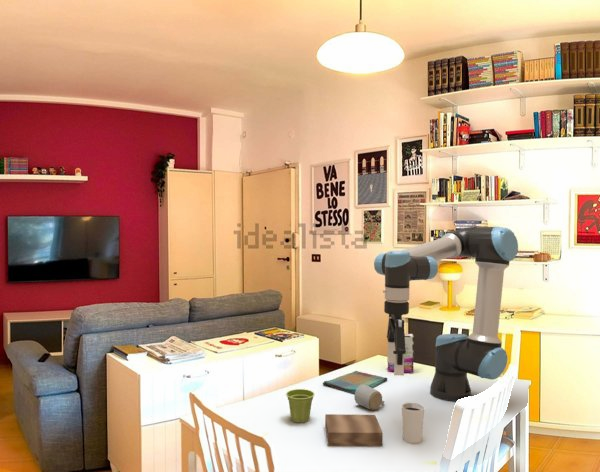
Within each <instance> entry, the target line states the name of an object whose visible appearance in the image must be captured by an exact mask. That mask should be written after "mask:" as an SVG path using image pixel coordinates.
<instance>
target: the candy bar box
mask: <svg viewBox="0 0 600 472" xmlns="http://www.w3.org/2000/svg"><path fill="white" fill-rule="evenodd" d="M414 345H415V344H414V334H413V333H405V349H406V353H404V374H414V350H415V349H414ZM387 372H388V373H394V363H388V362H387Z"/></svg>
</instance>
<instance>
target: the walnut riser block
mask: <svg viewBox="0 0 600 472" xmlns="http://www.w3.org/2000/svg"><path fill="white" fill-rule="evenodd" d="M324 415H325V417H324V418H325V419H324V420H325V421H324V422H325V423H324V426H325V428H324V429H325V433H326V440H327V446H328V447H383V440H384V439H383V438H384V436H383V435H384V433H383V430H382V428H381V425H380V423H379V420H378V418H377V416H376V414H345V413H344V414H341V413H340V414H337V413H336V414H330V413H329V414H326V413H325V414H324Z"/></svg>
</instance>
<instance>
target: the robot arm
mask: <svg viewBox="0 0 600 472" xmlns="http://www.w3.org/2000/svg"><path fill="white" fill-rule="evenodd" d="M518 252H519V243H518V239H517V236H516V235H515V233H514V231H512V230H511V229H510V228H507V227H500V226H467V227H464V228H460V229H456V230H454V231H451V232H447V233H445V234H443V235H442V236H441V238H438V239H435V240H431V241H428V242H425V243H421V244H418V245H415V246H412V247H409V248H405V249H402V250H388V251H387V252H385V253H379V254H378V255H377V256H376V257H375V259H374V261H373V265H374V266H373V267H374V270H375V272H376V273H377V274H379V275H382V276H384V289H383V290H382V293H384V304H383V306H384V307H383V311H384V313H385V314H387V315H388V321H387V322H388V324H387V332H386V338H387V361H386V362H387V364H388V363H394V372H393V375H394V376H404V375H405V373H404V353H406V349H405V334H406V333H405V320H404V319H403V318H402V316H404V315H405V316H406V315H408V314H409V311H410V310H409V309H410V303H409V300H410V284H411V283H410V282H411V281H427V280H431V279H434V278H435V277H436V276H437V274H438V272H439V265H438V262H439V261H441V260H444V259H447V258H450V259H455V258H461V257H462V258H464V257H466V258H474V259H475V260H474V263H475V264H476V265H477V267H478V275H477V284H476V294H475V305H474V312H473V313H474V317H473V325H472V332H471V333H470V335H467V334H465V333H444V334H440V335H438V336H437V337H436V339H435V347H434V348H435V349H434V350H435V355H434V356H435V360H434V361H435V365H434V366H435V369H434V370H435V371H434V376H433V378H432V381H431V384H430V387H429V388H430V389H429V391H430V392H429V393H430V395H432V396H433V397H434V398H436V399H440V400H444V401H450V402H458V401H457V400H458V399H461V398H464V397H468V396H471V397H472V388H471V385H470V383H469V379H468V374H470V375H473V376H475V377H476V376H477V377H479V378H481V379H487V380H492V381H493V380H495V379H498V378H499V377H500V376H501V375H502V374H503V373H504V371H505V370H506V368H507V365H508V354H507V351H506V350H505V349H504V348H503V347H502V345H503V344H502V340H501V339H500V338H499V326H500V317H501V306H502V295H503V287H504V284H503V283H504V274H505V270H506V269H507V268H509V266H510V261H513V260H515V258H516V256H517V255H518Z"/></svg>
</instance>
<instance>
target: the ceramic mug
mask: <svg viewBox="0 0 600 472" xmlns="http://www.w3.org/2000/svg"><path fill="white" fill-rule="evenodd" d="M354 401H355V403H356V404H357V405H358V406H360V407H363V408H366V409H368V410H371V411H375V410H378V409H379V408H380V407H381V406H384V405H385V401H384V400H383V395H382V393H381V392H380V391H379V390H377V389H375V388H374V387H372V388H371V387H369V386H367V385H365V384H362V385H360V386H359V387H358V388H357V389H356V391H355V395H354Z"/></svg>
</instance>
